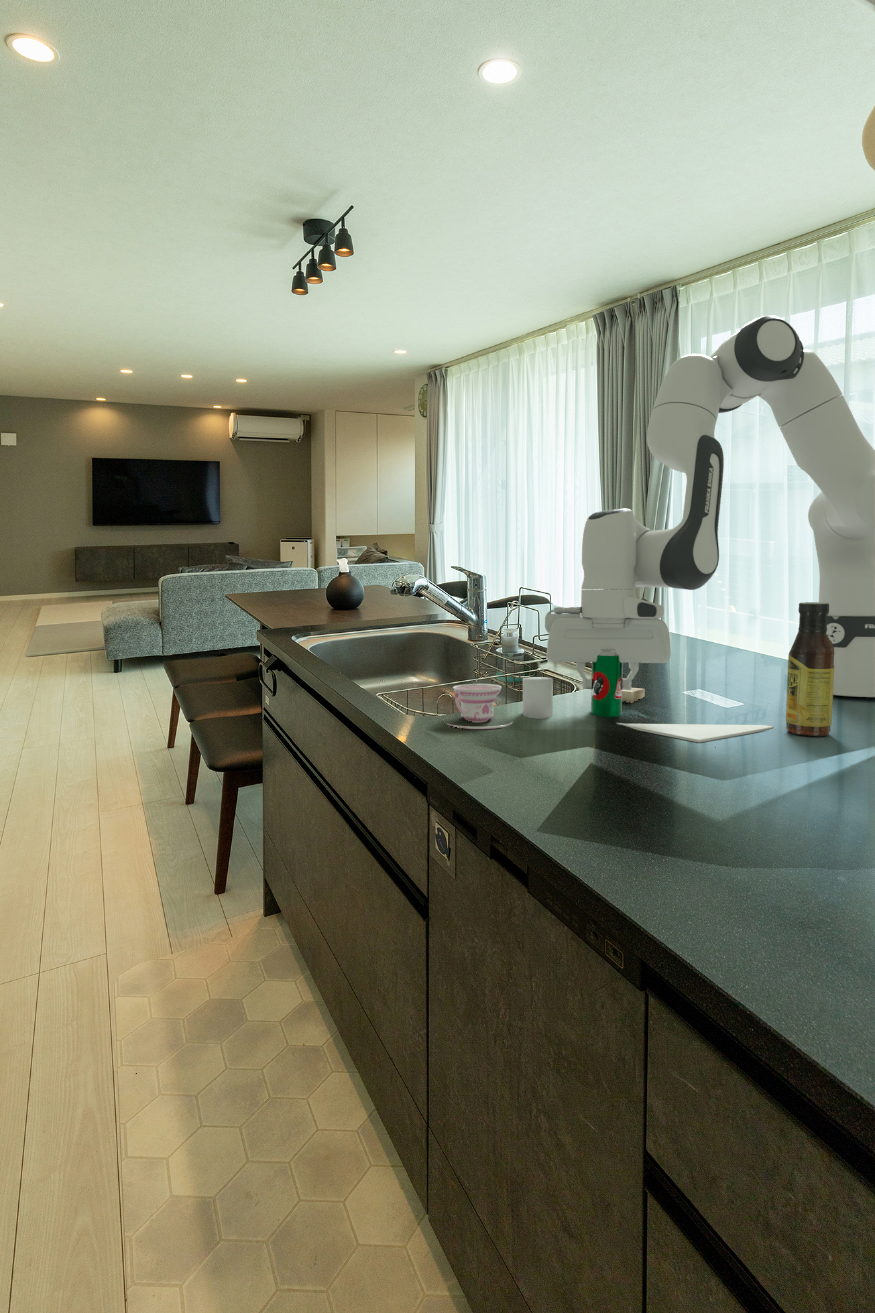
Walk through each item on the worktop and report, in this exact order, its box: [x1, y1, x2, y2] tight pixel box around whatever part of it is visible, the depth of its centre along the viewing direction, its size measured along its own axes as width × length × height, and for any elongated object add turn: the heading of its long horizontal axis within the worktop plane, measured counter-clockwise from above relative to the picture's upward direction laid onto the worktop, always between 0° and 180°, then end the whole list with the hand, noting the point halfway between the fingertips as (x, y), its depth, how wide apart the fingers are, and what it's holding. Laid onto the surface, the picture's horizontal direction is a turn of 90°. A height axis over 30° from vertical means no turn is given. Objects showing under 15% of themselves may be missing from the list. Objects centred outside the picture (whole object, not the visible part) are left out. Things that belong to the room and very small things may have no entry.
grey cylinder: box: [522, 676, 554, 720], centre depth 124 cm, size 5×5×7 cm
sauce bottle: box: [785, 601, 834, 737], centre depth 111 cm, size 7×6×20 cm
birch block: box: [622, 687, 646, 704], centre depth 134 cm, size 5×5×4 cm
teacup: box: [447, 683, 514, 730], centre depth 122 cm, size 12×12×6 cm
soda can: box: [590, 650, 624, 718], centre depth 124 cm, size 5×5×12 cm
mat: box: [616, 722, 774, 743], centre depth 118 cm, size 18×18×1 cm
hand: (606, 689), depth 124 cm, fingers closed on soda can, 5 cm apart
